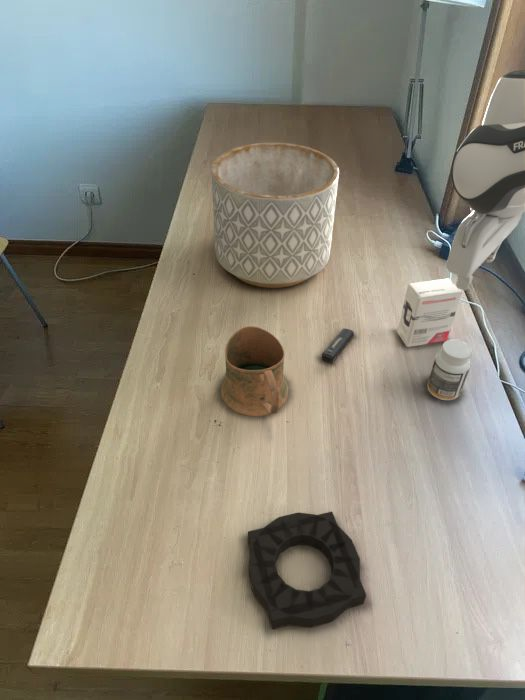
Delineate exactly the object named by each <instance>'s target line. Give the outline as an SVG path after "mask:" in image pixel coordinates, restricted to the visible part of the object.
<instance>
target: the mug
mask: <svg viewBox="0 0 525 700" xmlns="http://www.w3.org/2000/svg"><path fill="white" fill-rule="evenodd" d="M224 356H225V378H224V380H223V382H222V383H221V386H220V387H221V390H220V392H221V393H220V394H221V398H222V400H223V402H224V403H225V405H226V406H227V407H228V408H229V409H230V410H232V411H233V412H235V413H238V414H239V415H243V416H247V417H262V416H266V415H275V414H278V411H279V409H280V408H281V407H283V406H284V405H285V403H286V401H287V398H288V396H289V395H288V393H289V386H288V383H287V381H286V379H285V378H284V368H285V367H284V366H285V365H284V364H285V350H284V346H283V345H282V343H281V341H280V340H279V338H277V337H276V336H275V335H274V334H272V333H271V332H270V331H268V330H266V329H264V328H261V327H259V326H254V325H248V326H244V327H242V328H239V329H238V330H236V331H235V332H234V333H233V334H232V336H230V338H229V339H228V341H227V343H226V345H225V350H224Z"/></svg>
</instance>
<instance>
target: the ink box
mask: <svg viewBox="0 0 525 700" xmlns="http://www.w3.org/2000/svg"><path fill="white" fill-rule="evenodd" d="M462 294H463V292H462V290H461V289H459V288H457V286H456V284H455V283H454V282H453V280H451V278H449V277H446V278H440V279H439V278H438V279H432V280H426V281H419V282H418V281H417V282H411V283H408V284H407V287H406V291H405V296H404V301H403V305H402V309H401V314H400V318H399V323H398V326H397V331H396V332H397V334H398V336H399V338H400V339H401V341H402V342H403V343H404V345H405V346H406V347H407V348H410V347H416V346H417V347H418V346H422V345H423V346H424V345H428V344H435V343H440V342H441V343H442V342H445V341H447V340H448V339H449V338H448V337H449V335H450V331H451V328H452V325H453V322H454V319H455V316H456V313H457V309H458V306H459V303H460V300H461V297H462Z"/></svg>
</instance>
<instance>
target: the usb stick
mask: <svg viewBox="0 0 525 700" xmlns="http://www.w3.org/2000/svg"><path fill="white" fill-rule="evenodd" d="M354 336H355V331H353V330H352V329H350V328H346V327H345V328H342V329H341V330H340V332H339V333H338V334H337V335H336V337H335V338H334V339H333V340H332V341H331V343H330V344H329V345H328V346H327V347H326V348H325V350H324V351H323V352H322V353H321V359H322V360H323V361H326V362H329V363H332V362H334V361H335V359H336V358H337V357H338V356H339V354H340V353H341V352H342V351H343V350H344V348H345V347H346V346H347V345H348V343H349V342H350V341H351V340H352V338H353V337H354Z"/></svg>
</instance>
